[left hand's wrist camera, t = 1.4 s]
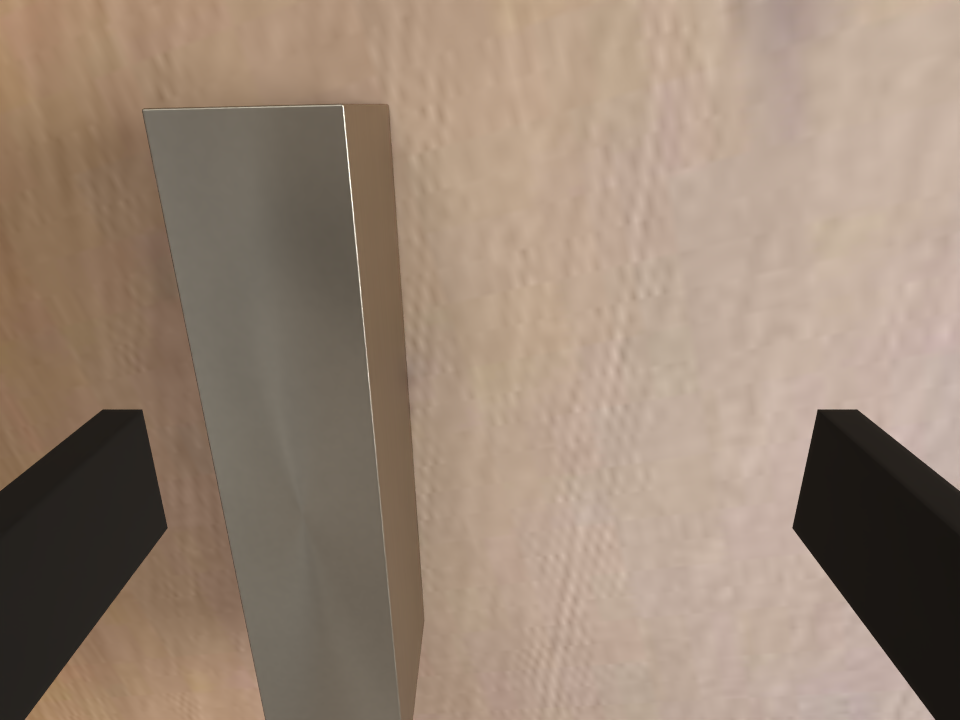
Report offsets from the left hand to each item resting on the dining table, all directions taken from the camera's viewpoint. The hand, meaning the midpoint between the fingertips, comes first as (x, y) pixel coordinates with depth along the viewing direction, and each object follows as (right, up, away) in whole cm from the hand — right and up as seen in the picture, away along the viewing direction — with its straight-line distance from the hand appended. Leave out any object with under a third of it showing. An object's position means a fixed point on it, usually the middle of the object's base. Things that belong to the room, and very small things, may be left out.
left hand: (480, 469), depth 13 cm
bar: (-6, 0, +18) cm, 19 cm away
